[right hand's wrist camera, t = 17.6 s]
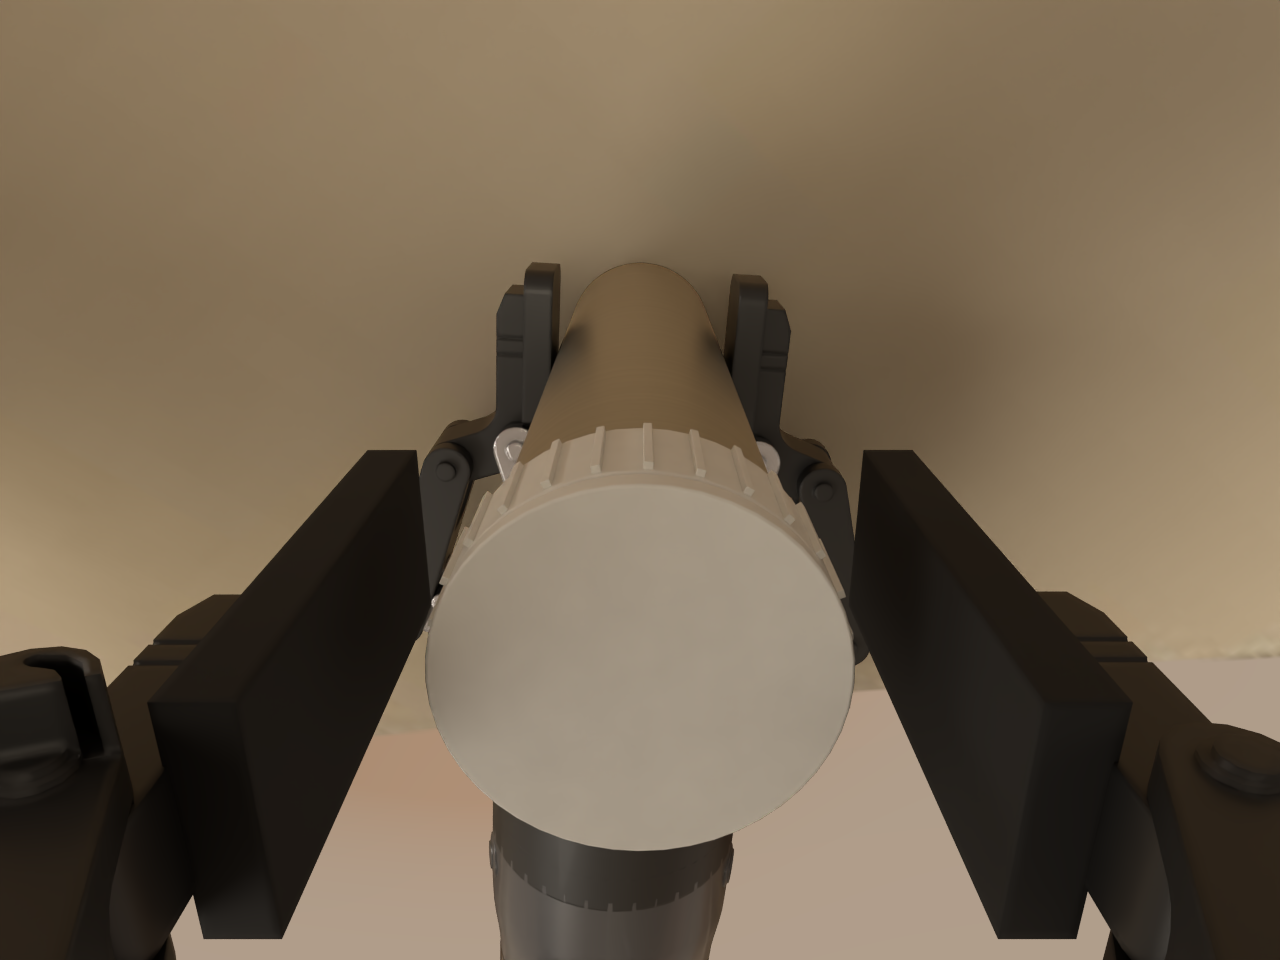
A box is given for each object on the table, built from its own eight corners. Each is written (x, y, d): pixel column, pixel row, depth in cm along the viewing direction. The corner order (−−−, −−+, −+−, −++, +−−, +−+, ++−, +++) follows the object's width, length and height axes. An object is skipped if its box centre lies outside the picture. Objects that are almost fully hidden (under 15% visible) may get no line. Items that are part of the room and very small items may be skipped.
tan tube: (557, 278, 28) (413, 519, 10) (695, 249, 28) (795, 447, 10) (587, 410, 29) (509, 819, 12) (719, 384, 29) (841, 766, 11)
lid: (516, 784, 13) (496, 891, 11) (398, 473, 11) (349, 540, 9) (855, 712, 13) (892, 811, 11) (787, 377, 11) (817, 427, 9)
